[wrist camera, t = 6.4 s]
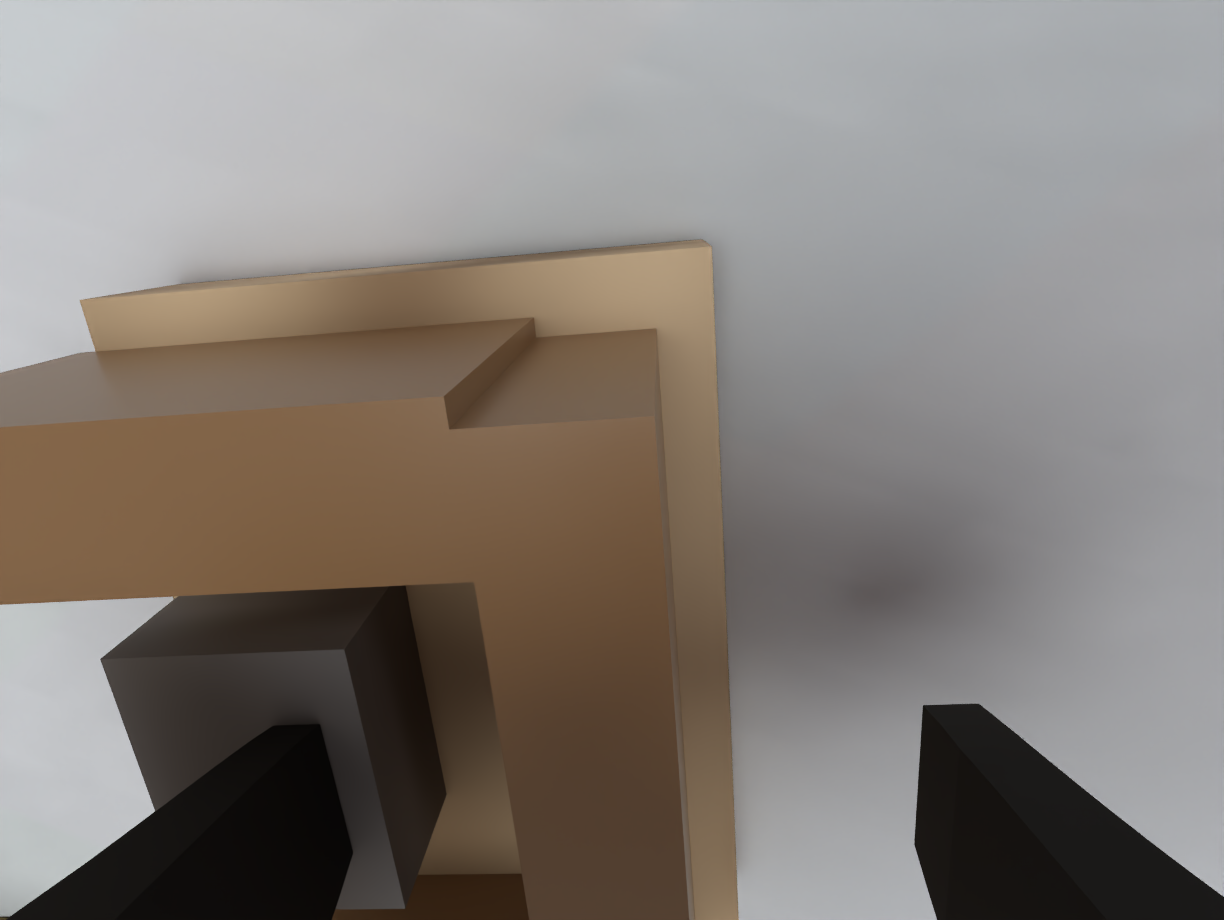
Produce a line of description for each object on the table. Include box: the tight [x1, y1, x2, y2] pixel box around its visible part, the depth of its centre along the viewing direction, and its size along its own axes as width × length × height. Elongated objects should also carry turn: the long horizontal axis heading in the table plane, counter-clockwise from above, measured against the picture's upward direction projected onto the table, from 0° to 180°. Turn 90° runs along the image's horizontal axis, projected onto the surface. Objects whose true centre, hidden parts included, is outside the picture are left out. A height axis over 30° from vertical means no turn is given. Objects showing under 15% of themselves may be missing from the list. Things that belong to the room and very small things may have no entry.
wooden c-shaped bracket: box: [0, 317, 695, 920], centre depth 9 cm, size 8×10×4 cm
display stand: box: [80, 239, 738, 920], centre depth 11 cm, size 8×12×4 cm, turn 5°
